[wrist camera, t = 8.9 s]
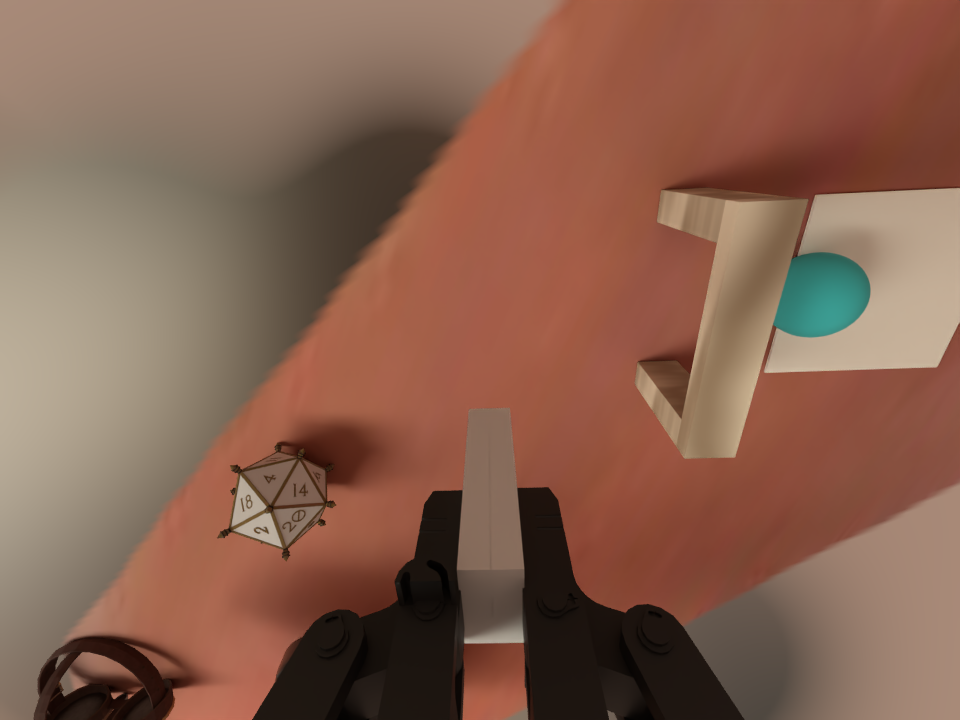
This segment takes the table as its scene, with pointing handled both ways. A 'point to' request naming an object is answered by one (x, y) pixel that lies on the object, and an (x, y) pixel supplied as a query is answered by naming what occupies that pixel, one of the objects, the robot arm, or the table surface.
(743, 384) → the bridge
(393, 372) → the table surface
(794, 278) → the ball
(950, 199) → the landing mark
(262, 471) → the game die
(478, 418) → the robot arm
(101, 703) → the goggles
